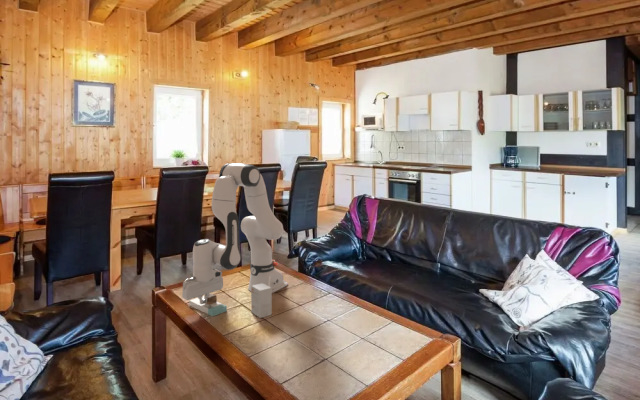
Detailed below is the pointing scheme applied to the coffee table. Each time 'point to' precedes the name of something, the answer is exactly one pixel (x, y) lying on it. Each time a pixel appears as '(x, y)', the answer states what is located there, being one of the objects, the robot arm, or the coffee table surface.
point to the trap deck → (208, 307)
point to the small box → (261, 300)
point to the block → (211, 299)
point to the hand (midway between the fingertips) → (203, 303)
